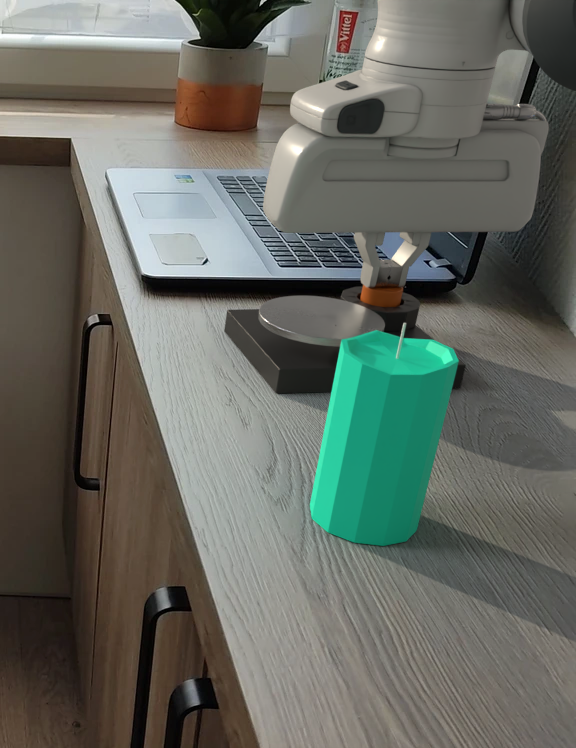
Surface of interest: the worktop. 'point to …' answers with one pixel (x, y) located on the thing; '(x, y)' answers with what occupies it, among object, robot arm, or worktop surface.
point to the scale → (313, 346)
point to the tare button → (382, 296)
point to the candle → (381, 436)
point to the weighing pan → (318, 319)
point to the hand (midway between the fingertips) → (381, 285)
